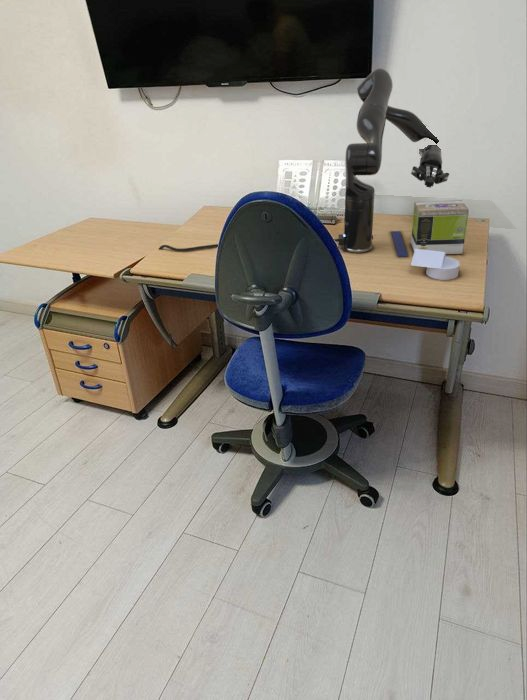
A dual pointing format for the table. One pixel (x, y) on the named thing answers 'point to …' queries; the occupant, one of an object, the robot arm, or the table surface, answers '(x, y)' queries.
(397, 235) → the ruler
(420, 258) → the wedge on round base
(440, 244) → the tea box
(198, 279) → the table surface
